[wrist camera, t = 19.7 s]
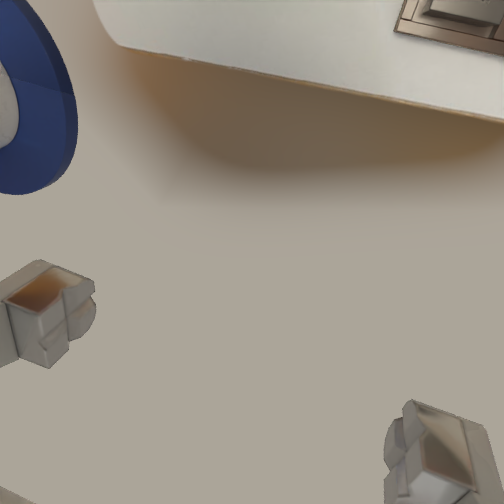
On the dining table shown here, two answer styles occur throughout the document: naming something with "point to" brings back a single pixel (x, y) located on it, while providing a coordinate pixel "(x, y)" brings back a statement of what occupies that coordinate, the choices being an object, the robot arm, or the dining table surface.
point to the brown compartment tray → (456, 23)
